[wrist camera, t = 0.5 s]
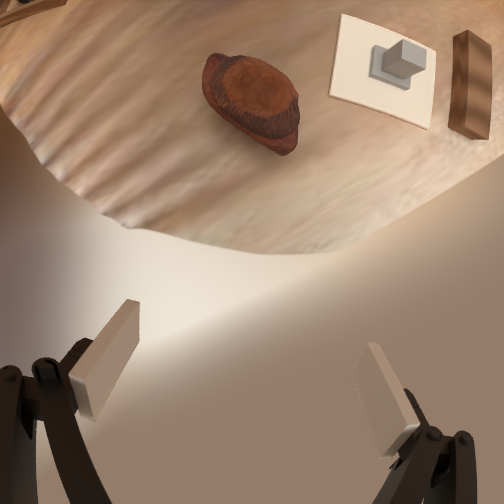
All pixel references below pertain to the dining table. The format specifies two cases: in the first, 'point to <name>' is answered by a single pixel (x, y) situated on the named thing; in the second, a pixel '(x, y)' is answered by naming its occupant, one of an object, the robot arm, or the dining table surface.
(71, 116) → the dining table surface
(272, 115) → the wooden figurine
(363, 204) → the dining table surface
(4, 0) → the wooden tray
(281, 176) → the dining table surface
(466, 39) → the bar
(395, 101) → the fulcrum
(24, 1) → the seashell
